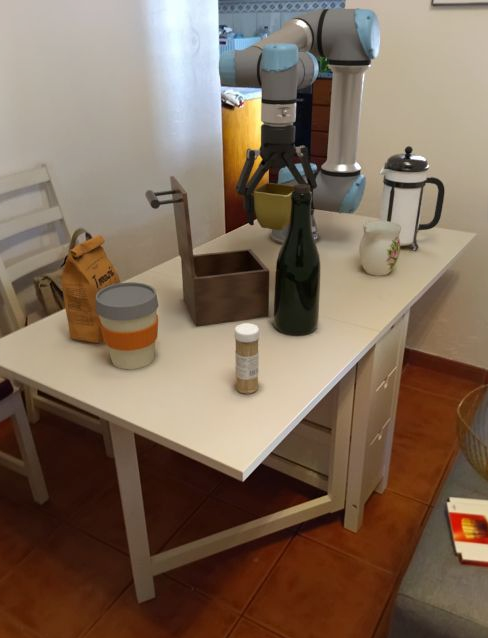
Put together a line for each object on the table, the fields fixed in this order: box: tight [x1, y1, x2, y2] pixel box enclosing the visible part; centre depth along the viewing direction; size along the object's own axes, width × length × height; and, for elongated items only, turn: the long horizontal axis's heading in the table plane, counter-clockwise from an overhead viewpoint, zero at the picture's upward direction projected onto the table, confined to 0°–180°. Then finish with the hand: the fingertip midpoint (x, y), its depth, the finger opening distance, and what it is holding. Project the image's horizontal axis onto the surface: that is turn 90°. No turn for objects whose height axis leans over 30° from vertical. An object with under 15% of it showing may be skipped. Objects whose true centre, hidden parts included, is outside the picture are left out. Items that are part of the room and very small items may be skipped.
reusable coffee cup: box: [96, 281, 160, 370], centre depth 123 cm, size 13×13×15 cm
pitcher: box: [359, 220, 401, 277], centre depth 166 cm, size 11×18×14 cm, turn 143°
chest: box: [180, 248, 271, 327], centre depth 144 cm, size 18×15×12 cm
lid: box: [144, 175, 196, 277], centre depth 133 cm, size 19×15×7 cm
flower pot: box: [252, 182, 294, 230], centre depth 137 cm, size 9×9×9 cm
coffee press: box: [378, 145, 446, 251], centre depth 180 cm, size 17×16×30 cm
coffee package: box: [61, 234, 121, 343], centre depth 131 cm, size 10×12×22 cm
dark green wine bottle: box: [273, 184, 321, 336], centre depth 131 cm, size 10×10×33 cm
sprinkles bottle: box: [234, 322, 260, 395], centre depth 113 cm, size 5×5×14 cm
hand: (275, 221), depth 139 cm, fingers closed on flower pot, 12 cm apart
